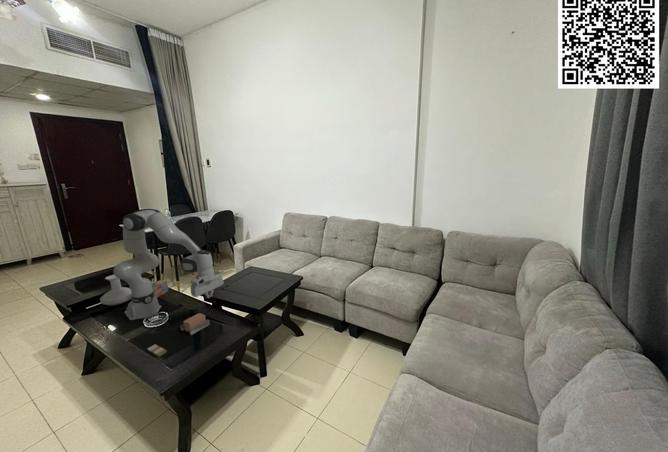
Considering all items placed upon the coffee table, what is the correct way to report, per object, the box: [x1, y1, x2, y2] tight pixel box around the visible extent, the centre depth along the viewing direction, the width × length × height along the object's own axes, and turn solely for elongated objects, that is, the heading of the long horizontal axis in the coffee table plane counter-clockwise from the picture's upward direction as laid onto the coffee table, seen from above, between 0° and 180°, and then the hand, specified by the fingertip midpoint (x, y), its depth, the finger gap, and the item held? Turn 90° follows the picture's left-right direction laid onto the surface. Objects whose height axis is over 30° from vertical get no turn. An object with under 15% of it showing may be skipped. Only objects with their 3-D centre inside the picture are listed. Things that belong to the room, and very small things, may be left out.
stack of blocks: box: [150, 279, 170, 298], centre depth 197 cm, size 21×6×12 cm, turn 169°
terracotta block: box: [183, 312, 207, 333], centre depth 156 cm, size 6×10×6 cm, turn 151°
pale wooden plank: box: [146, 319, 211, 358], centre depth 149 cm, size 11×32×4 cm, turn 151°
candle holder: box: [99, 274, 132, 306], centre depth 191 cm, size 20×20×19 cm
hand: (209, 297), depth 163 cm, fingers closed
